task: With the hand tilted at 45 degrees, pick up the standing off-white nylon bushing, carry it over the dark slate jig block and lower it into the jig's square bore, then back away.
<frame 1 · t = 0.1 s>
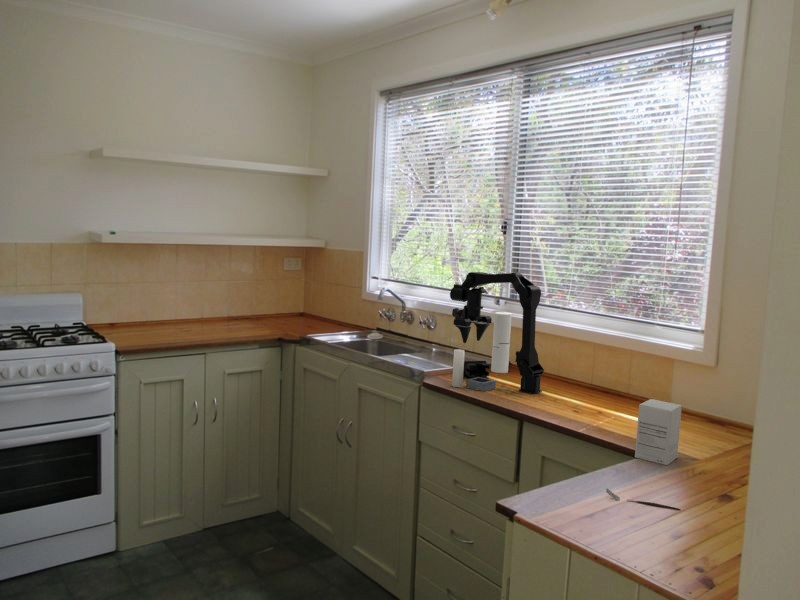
hand: (471, 341, 268), 15 cm above the worktop, tool pointing down, fingers open, 9 cm apart
end cap: (474, 378, 271), on the worktop
jig: (480, 387, 253), on the worktop
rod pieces: (642, 505, 150), on the worktop
supplement box: (655, 458, 182), on the worktop
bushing: (457, 386, 254), on the worktop
cylindrical container: (499, 371, 285), on the worktop
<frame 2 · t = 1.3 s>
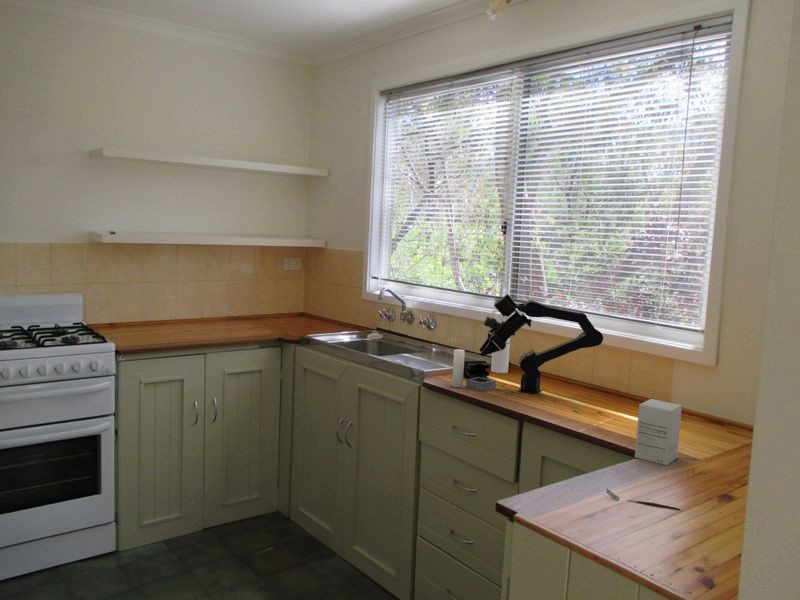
hand: (480, 353, 251), 13 cm above the worktop, tool tilted 45°, fingers open, 9 cm apart
nothing on the worktop moved.
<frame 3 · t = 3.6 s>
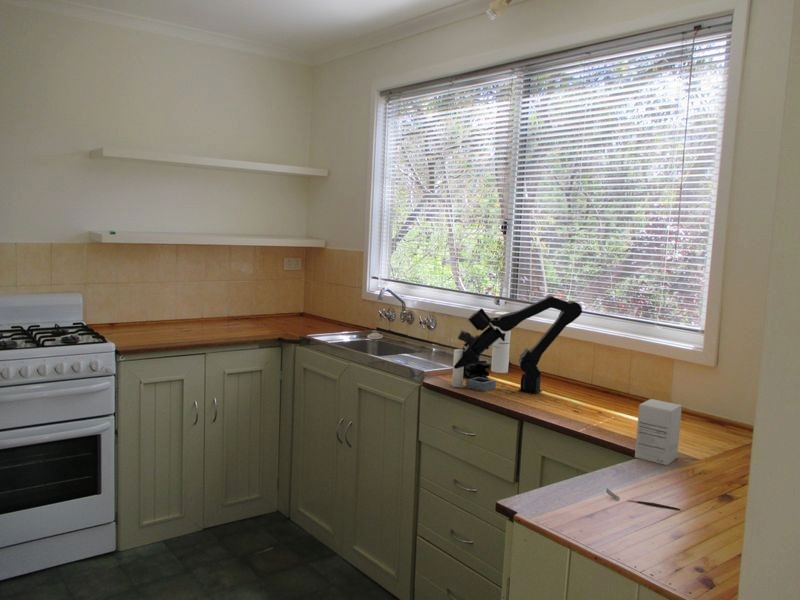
hand: (454, 366, 253), 8 cm above the worktop, tool tilted 45°, fingers closed on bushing, 4 cm apart
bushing: (457, 386, 254), on the worktop, touching gripper
everything else where it was.
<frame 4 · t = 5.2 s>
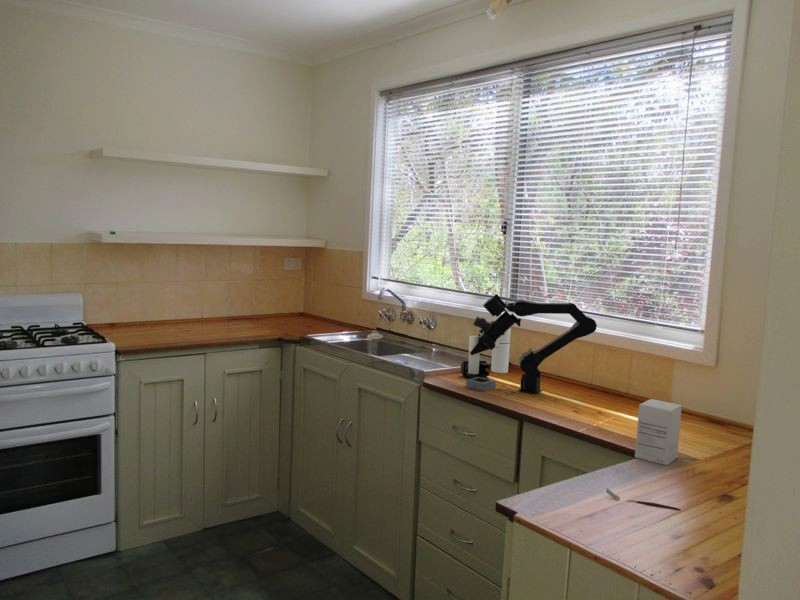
hand: (470, 353, 252), 13 cm above the worktop, tool tilted 45°, fingers closed on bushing, 4 cm apart
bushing: (473, 373, 253), point 6 cm above the worktop, touching gripper
everything else where it was.
when the fingers open (9 cm above the worktop, at t = 6.8 s): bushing drops 2 cm, resting in jig.
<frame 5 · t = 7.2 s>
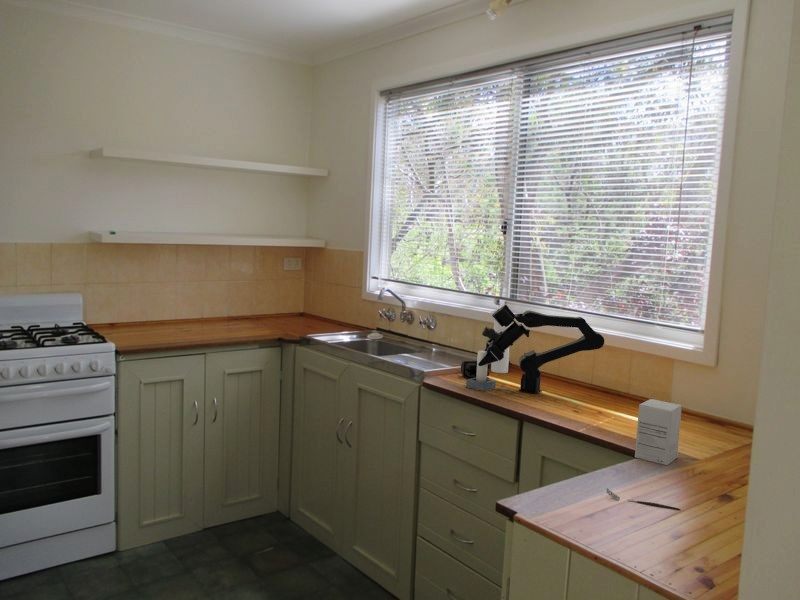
hand: (478, 362, 252), 10 cm above the worktop, tool tilted 45°, fingers open, 9 cm apart
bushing: (480, 387, 253), resting in jig
everything else where it was.
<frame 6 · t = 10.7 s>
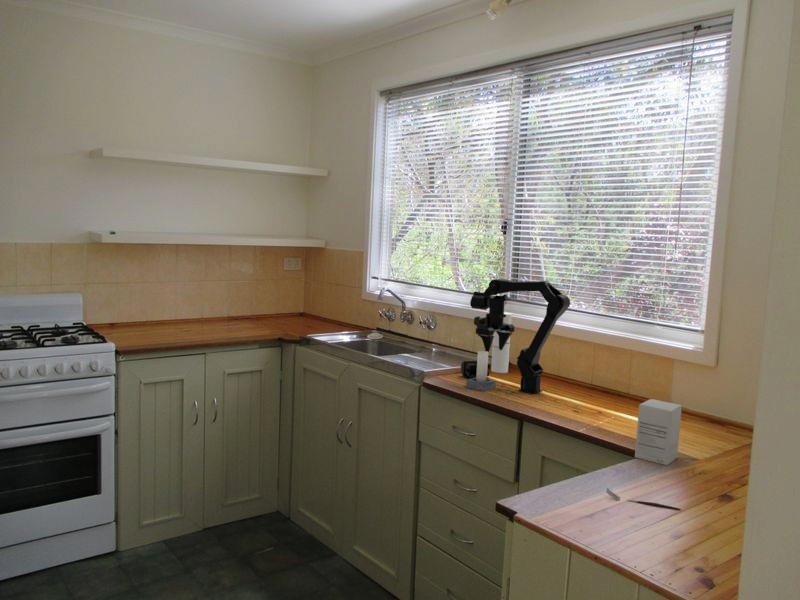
hand: (494, 351, 259), 13 cm above the worktop, tool pointing down, fingers open, 9 cm apart
nothing on the worktop moved.
at the end: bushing 0.1 cm off-centre on the jig, point 0.0 cm above the jig's base; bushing tilted 0°; the gripper is holding nothing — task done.
